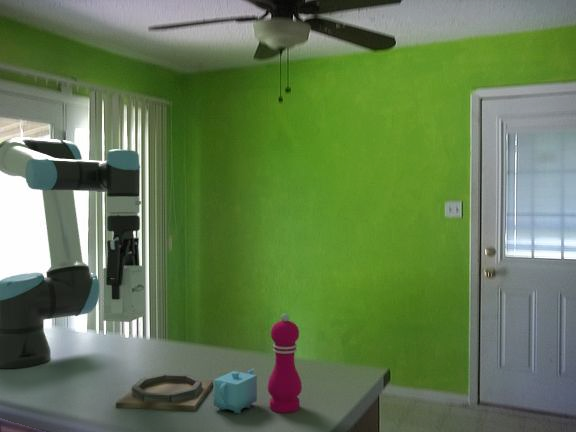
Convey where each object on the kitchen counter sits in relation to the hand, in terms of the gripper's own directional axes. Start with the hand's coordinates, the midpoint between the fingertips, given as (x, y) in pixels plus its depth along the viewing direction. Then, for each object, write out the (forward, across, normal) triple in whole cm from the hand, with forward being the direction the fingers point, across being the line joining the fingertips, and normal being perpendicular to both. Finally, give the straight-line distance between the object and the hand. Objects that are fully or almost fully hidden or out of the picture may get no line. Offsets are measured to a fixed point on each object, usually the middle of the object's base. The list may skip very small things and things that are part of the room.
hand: (124, 309), depth 133 cm
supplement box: (+2, 0, 0) cm, 2 cm away
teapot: (+18, -12, -30) cm, 37 cm away
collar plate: (+18, -8, -13) cm, 23 cm away
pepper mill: (+18, -12, -40) cm, 46 cm away
